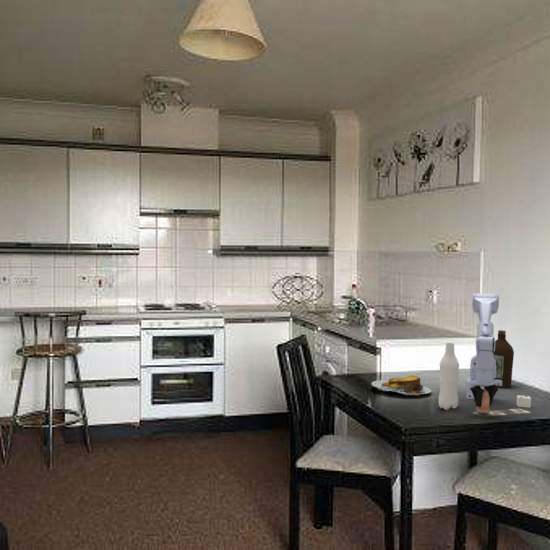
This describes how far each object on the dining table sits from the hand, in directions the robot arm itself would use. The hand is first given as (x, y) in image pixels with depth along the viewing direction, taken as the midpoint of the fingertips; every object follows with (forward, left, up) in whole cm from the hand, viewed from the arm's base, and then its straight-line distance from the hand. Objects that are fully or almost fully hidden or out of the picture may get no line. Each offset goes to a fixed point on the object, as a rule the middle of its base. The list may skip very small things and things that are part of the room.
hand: (483, 406), depth 221 cm
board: (+6, +6, -4) cm, 9 cm away
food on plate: (-37, +23, -4) cm, 44 cm away
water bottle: (-14, +5, -4) cm, 15 cm away
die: (+11, +22, -4) cm, 25 cm away
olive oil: (-3, +59, -4) cm, 59 cm away
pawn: (0, 0, -2) cm, 2 cm away
